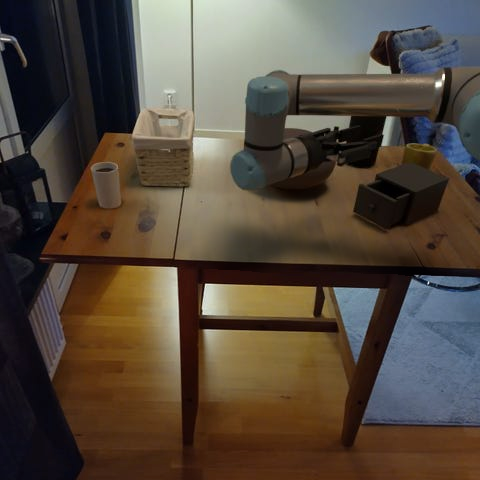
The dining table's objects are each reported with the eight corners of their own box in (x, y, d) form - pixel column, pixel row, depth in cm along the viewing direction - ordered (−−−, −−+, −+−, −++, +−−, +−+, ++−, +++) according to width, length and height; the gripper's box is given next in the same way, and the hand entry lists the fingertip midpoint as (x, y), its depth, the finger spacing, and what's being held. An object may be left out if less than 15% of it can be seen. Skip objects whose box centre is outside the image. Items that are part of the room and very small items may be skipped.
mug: (426, 177, 139) (429, 142, 136) (394, 177, 146) (396, 144, 143) (442, 174, 147) (446, 141, 144) (412, 174, 154) (414, 143, 151)
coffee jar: (371, 171, 146) (385, 111, 134) (338, 164, 149) (349, 105, 137) (378, 159, 154) (392, 102, 142) (347, 153, 157) (358, 96, 145)
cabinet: (405, 226, 120) (415, 192, 114) (367, 207, 128) (376, 173, 121) (437, 211, 127) (449, 178, 121) (400, 194, 135) (410, 161, 128)
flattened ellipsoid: (274, 159, 150) (279, 111, 140) (344, 180, 140) (354, 130, 130) (231, 185, 134) (232, 133, 125) (306, 211, 124) (314, 156, 114)
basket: (192, 190, 131) (191, 137, 121) (135, 188, 130) (129, 135, 121) (196, 156, 149) (195, 108, 139) (145, 155, 148) (141, 107, 138)
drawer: (383, 231, 116) (391, 203, 111) (349, 213, 123) (355, 185, 118) (418, 215, 123) (427, 188, 118) (384, 199, 130) (392, 172, 125)
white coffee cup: (121, 196, 126) (116, 160, 120) (124, 207, 122) (119, 171, 115) (96, 199, 125) (89, 163, 118) (98, 210, 120) (92, 173, 113)
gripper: (266, 158, 104) (336, 139, 115) (327, 190, 93) (398, 165, 104) (269, 124, 99) (342, 107, 110) (333, 153, 88) (408, 131, 99)
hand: (369, 135), depth 107 cm, fingers open, 6 cm apart
